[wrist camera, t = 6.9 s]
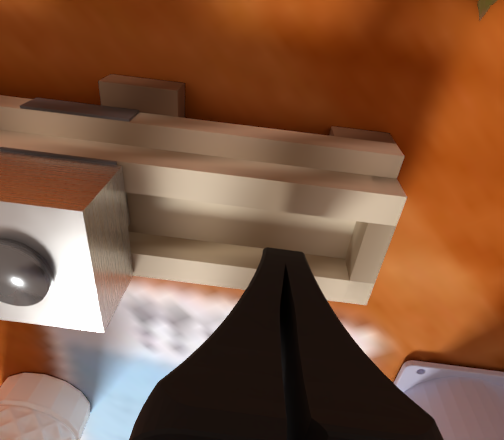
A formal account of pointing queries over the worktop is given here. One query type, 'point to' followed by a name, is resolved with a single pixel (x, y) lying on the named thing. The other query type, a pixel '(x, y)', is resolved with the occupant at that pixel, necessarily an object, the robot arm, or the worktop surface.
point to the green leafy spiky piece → (484, 7)
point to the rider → (62, 241)
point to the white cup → (41, 408)
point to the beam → (225, 185)
